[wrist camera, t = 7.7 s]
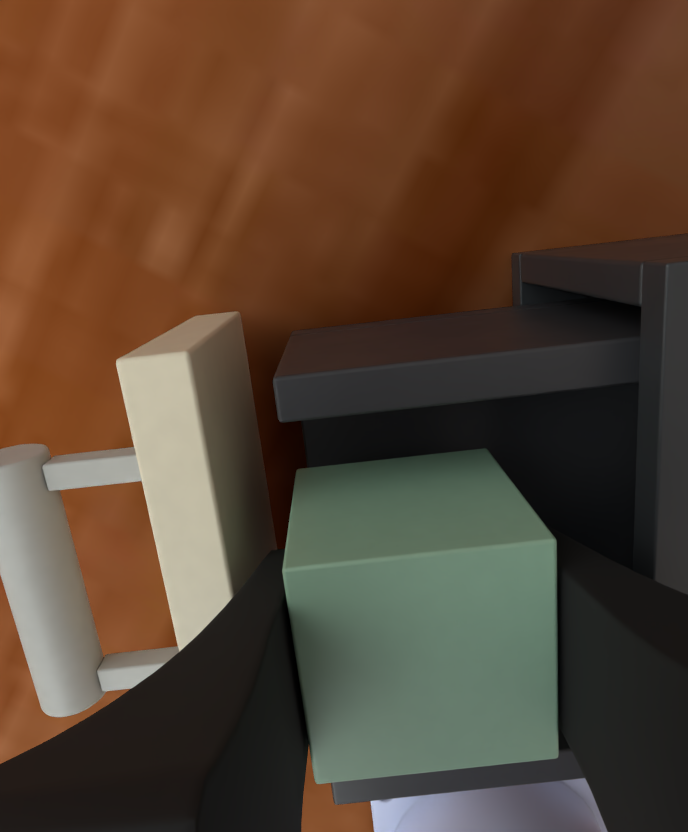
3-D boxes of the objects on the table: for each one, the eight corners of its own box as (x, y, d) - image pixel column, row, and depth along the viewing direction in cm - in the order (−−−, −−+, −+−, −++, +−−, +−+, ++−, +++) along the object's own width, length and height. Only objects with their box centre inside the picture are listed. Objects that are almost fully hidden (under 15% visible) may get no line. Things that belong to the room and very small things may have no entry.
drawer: (111, 675, 18) (15, 870, 12) (22, 335, 15) (-156, 389, 9) (671, 615, 18) (826, 783, 12) (690, 259, 15) (905, 270, 9)
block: (494, 612, 14) (559, 760, 10) (318, 632, 14) (315, 786, 10) (487, 447, 12) (558, 538, 9) (295, 467, 12) (281, 569, 9)
